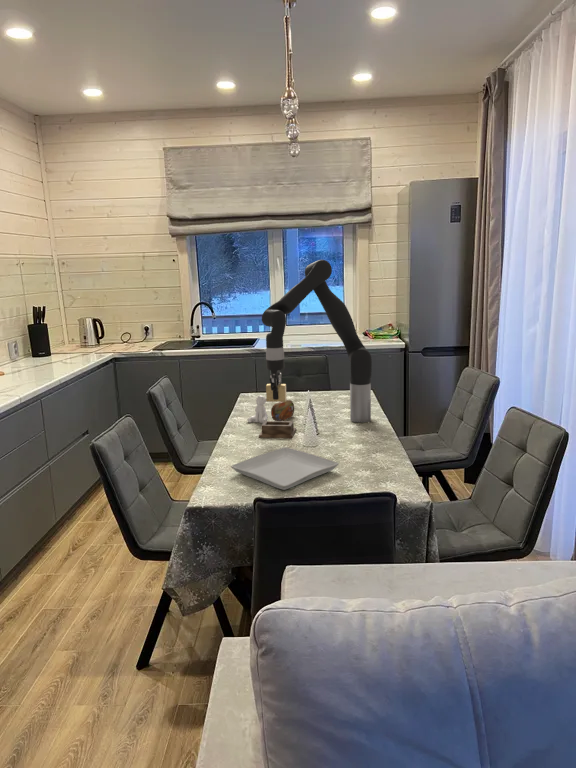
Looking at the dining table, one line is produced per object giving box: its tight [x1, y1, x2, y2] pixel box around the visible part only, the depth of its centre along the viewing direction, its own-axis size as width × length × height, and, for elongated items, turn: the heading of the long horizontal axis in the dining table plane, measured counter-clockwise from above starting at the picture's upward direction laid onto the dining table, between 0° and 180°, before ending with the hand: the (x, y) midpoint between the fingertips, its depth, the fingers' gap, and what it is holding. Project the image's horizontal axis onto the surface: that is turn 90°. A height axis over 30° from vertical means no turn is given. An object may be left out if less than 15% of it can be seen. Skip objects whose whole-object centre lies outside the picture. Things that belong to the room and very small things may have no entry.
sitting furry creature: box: [246, 395, 269, 424], centre depth 258 cm, size 10×9×12 cm
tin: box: [270, 399, 295, 421], centre depth 261 cm, size 15×3×8 cm, turn 143°
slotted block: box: [258, 420, 297, 439], centre depth 239 cm, size 14×12×4 cm
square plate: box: [230, 446, 340, 490], centre depth 194 cm, size 27×27×4 cm
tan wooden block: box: [265, 383, 287, 403], centre depth 236 cm, size 8×3×7 cm, turn 80°
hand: (276, 398), depth 236 cm, fingers closed on tan wooden block, 3 cm apart
